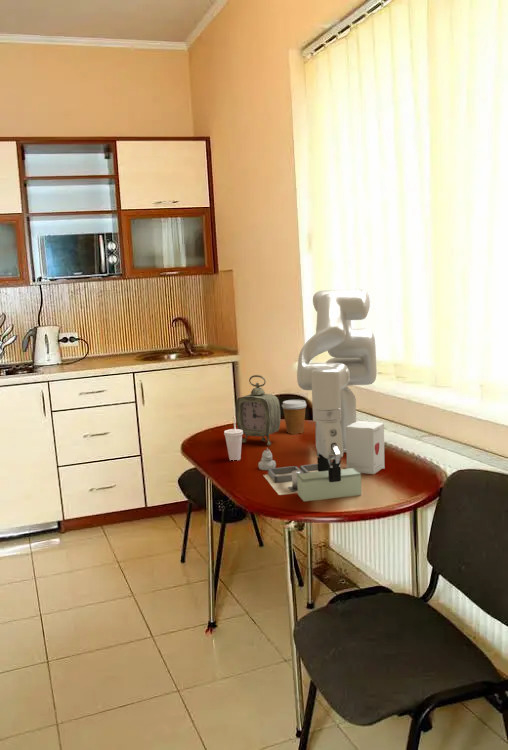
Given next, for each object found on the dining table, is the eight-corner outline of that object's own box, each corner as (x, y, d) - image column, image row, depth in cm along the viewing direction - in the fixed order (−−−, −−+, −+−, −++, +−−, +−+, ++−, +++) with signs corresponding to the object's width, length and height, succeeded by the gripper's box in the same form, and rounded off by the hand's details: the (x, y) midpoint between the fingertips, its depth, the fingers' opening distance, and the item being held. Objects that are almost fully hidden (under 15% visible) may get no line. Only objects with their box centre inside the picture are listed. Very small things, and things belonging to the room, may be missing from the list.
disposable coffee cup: (308, 434, 266) (307, 403, 264) (283, 435, 266) (281, 404, 264) (306, 429, 275) (305, 398, 273) (282, 430, 275) (281, 400, 273)
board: (333, 471, 216) (332, 467, 216) (355, 490, 197) (355, 485, 196) (263, 479, 212) (262, 474, 211) (279, 499, 192) (278, 494, 192)
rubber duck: (263, 475, 216) (262, 450, 214) (255, 470, 222) (254, 445, 220) (279, 472, 217) (278, 447, 216) (271, 467, 224) (270, 443, 222)
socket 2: (328, 468, 215) (328, 462, 215) (337, 476, 207) (337, 470, 207) (300, 471, 214) (299, 465, 213) (308, 479, 205) (308, 473, 205)
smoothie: (242, 462, 232) (240, 420, 230) (223, 461, 233) (221, 420, 231) (246, 456, 238) (244, 416, 236) (227, 456, 239) (225, 416, 237)
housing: (353, 492, 195) (353, 467, 194) (361, 498, 189) (360, 473, 188) (298, 498, 192) (297, 473, 191) (304, 505, 186) (303, 480, 185)
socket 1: (296, 471, 214) (296, 465, 213) (304, 479, 205) (304, 473, 205) (268, 474, 212) (267, 468, 212) (274, 483, 203) (274, 476, 203)
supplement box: (374, 478, 207) (373, 428, 205) (346, 475, 212) (344, 426, 210) (385, 470, 215) (384, 422, 213) (358, 467, 220) (357, 420, 217)
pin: (299, 487, 198) (299, 470, 197) (302, 489, 196) (301, 472, 195) (291, 488, 198) (290, 470, 197) (293, 490, 195) (292, 473, 195)
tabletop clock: (237, 443, 257) (233, 376, 253) (251, 438, 264) (247, 372, 261) (270, 447, 249) (267, 377, 245) (284, 441, 256) (281, 374, 253)
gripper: (351, 419, 180) (353, 484, 183) (330, 406, 196) (332, 465, 199) (323, 422, 178) (325, 487, 181) (304, 409, 195) (306, 468, 198)
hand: (329, 476), depth 190 cm, fingers open, 9 cm apart
